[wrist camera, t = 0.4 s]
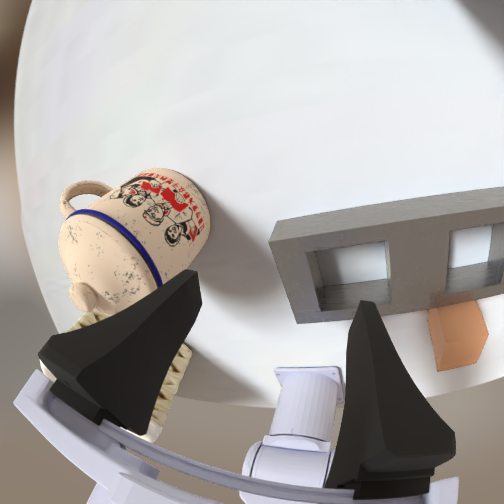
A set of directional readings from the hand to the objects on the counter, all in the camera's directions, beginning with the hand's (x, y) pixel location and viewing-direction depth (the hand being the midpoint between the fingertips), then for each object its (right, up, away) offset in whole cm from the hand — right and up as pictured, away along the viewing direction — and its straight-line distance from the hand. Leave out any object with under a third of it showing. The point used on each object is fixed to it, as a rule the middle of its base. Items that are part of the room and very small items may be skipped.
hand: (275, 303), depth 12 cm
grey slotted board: (+11, +3, +7) cm, 13 cm away
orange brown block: (+17, -3, +9) cm, 19 cm away
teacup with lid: (-9, +7, +11) cm, 16 cm away
